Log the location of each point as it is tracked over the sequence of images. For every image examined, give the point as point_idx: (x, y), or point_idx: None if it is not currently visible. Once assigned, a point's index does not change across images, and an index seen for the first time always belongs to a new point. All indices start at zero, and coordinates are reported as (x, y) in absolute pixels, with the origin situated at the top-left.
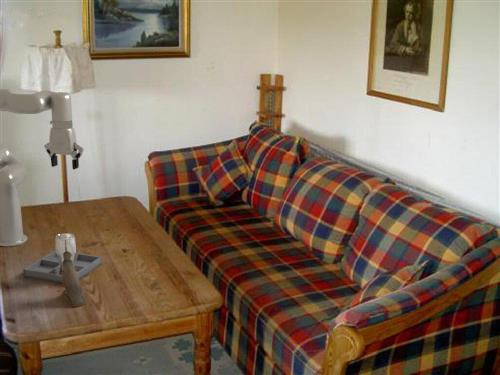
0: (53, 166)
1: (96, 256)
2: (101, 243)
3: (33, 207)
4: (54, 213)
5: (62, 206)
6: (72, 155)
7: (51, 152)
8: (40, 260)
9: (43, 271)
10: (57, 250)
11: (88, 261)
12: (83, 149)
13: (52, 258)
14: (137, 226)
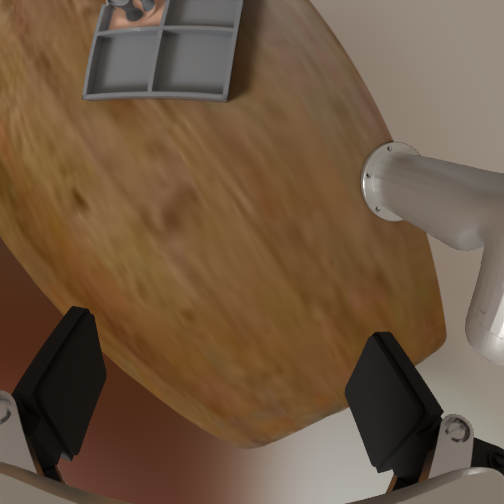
0: (370, 338)
1: (94, 96)
2: (153, 226)
3: None
4: None
5: None
6: (7, 457)
7: (476, 468)
8: (234, 25)
9: (207, 4)
10: None
11: (120, 90)
12: None
13: (225, 75)
14: (136, 346)
